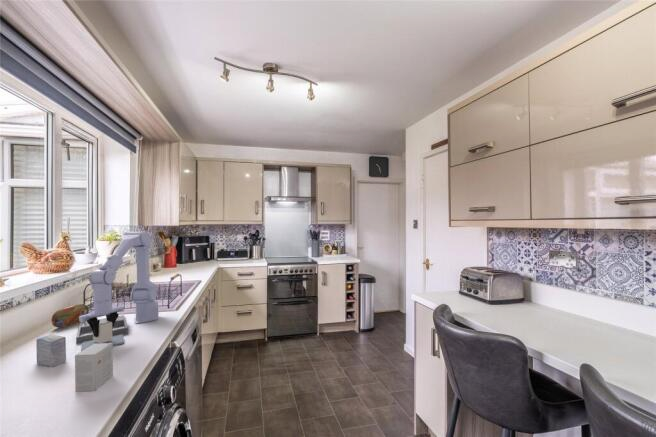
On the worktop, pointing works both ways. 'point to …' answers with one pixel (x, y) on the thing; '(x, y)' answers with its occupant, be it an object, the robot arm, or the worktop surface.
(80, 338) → the grey open frame tray
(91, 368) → the small box
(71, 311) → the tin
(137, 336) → the worktop surface
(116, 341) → the mat
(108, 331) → the block
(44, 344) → the medicine box
